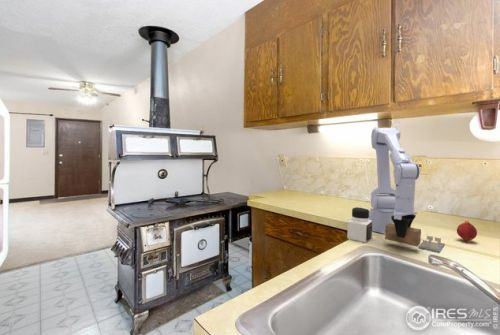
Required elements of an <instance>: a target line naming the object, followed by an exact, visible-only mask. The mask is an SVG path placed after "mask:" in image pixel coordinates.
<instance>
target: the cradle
mask: <svg viewBox="0 0 500 335" xmlns="http://www.w3.org/2000/svg"><path fill="white" fill-rule="evenodd" d="M445 245H446V244H445V243H443V242H442V236H434V235H432V234H427V235H426V238H423V239H422V242H420V244H419V246H418V247H417V248H418V249H420V250H426V251H430V252H433V253H437V254H440V253H441V251H442V250H443V248H444V247H445Z"/></svg>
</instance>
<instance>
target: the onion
mask: <svg viewBox="0 0 500 335" xmlns="http://www.w3.org/2000/svg"><path fill="white" fill-rule="evenodd" d="M456 234H457V235H458V236H459V238H461V239H462V240H463V241H464V242H469V241H472V240H474V239H476V237H477V236H478V230H477V228H476V227H475V226H474V225H473V224H471V222H469V220H465V221H464V222H462V223H460V224H459V225H458V226H457V228H456Z"/></svg>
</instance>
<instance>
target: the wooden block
mask: <svg viewBox="0 0 500 335" xmlns="http://www.w3.org/2000/svg"><path fill="white" fill-rule="evenodd" d="M421 236H422V229H421V228H417V227H416V228H415V227H412V226H411V227H407V229H406V234H405V237H404V238H401V237H397V234H396V229H395V225H394V224H391V223H389V224H387V225H386V228H385V234H384V239H385V240H387V241H393V242H396V243H399V244H405V245H407V246H408V245H409V246H411V247H412V246H413V247H417V248H418V246H419V245H420V244H421V241H422V240H421Z"/></svg>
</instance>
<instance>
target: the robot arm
mask: <svg viewBox="0 0 500 335" xmlns="http://www.w3.org/2000/svg"><path fill="white" fill-rule="evenodd" d="M370 137H371V148H372V149H374V150H375V154H376V169H377V170H376V171H377V186H378V187H376V188H375V189H373V190H372V192H371V194H370V196H371V197H370V207H371V208H370V209H368V210H369V220H372V232H376V233H380V234H384V235H385V228H386V225H387V224H389V223H391V224H394V225H395V229H396V234H397V237H401V238H404V237H405V234H406V229H407V227H411V228H412V224H413V221H414V220H415V218H416V215H418V213H419V211H417V210H414V208H415V197H416V196H415V195H416V194H415V191H416V181H417V180H418V179H419V177H420V166H419V163H417V162H414V161H412V160H411V158H410V156H409V153H408V152H407V150H406V149H404V148H402V146H401V144H400V143H401V142H400V138H401V130H400V128H399V127H397V126H395V127H374V128H373V129H372V130H371V136H370ZM389 152H390V153H389ZM390 161H391V164H392V166H393V171H392V172H393V178H394V184H395V188H393V187H392V184H391V169H390V168H391V167H390Z"/></svg>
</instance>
